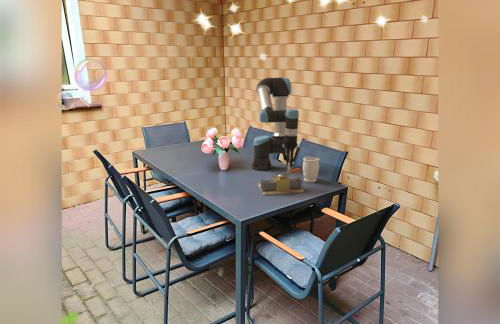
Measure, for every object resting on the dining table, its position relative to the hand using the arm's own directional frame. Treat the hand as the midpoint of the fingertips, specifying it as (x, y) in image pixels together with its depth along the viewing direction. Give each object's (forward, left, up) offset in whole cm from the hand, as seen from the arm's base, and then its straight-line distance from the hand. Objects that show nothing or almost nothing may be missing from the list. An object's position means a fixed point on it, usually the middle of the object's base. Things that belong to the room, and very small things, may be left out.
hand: (289, 171), depth 219 cm
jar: (-8, +17, -10) cm, 22 cm away
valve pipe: (+7, -7, -10) cm, 14 cm away
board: (+3, -6, -10) cm, 12 cm away
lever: (+3, -1, -1) cm, 3 cm away
